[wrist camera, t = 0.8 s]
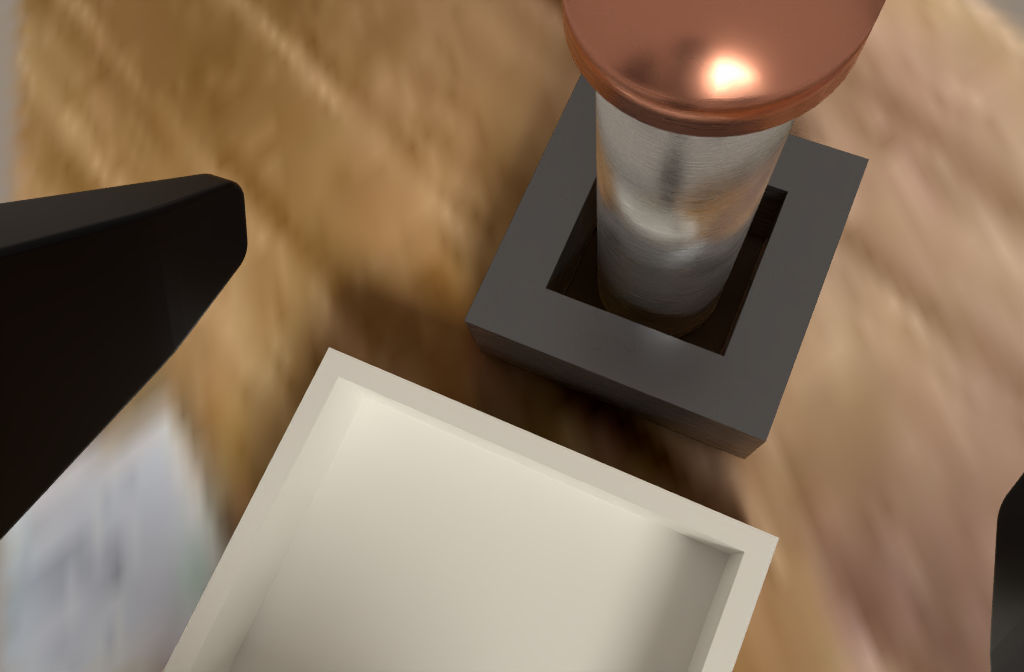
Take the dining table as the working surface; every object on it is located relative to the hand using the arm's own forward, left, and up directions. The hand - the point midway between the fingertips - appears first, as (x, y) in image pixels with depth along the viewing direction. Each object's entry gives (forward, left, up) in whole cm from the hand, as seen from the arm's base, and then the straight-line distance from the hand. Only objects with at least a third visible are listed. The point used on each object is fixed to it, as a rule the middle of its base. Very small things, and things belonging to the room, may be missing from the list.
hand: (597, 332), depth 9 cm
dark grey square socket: (+6, +1, -14) cm, 15 cm away
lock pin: (+6, +1, -14) cm, 15 cm away
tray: (-5, +2, -14) cm, 15 cm away
